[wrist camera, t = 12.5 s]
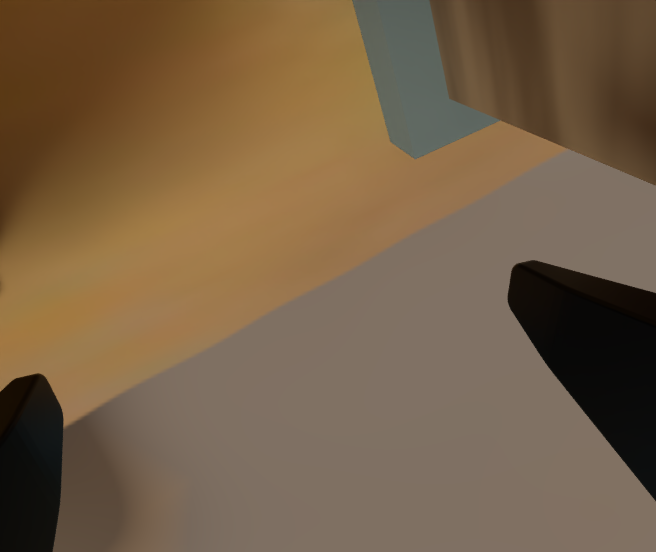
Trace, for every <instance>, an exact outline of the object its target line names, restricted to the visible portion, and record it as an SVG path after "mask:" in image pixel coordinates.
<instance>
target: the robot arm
mask: <svg viewBox="0 0 656 552" xmlns="http://www.w3.org/2000/svg"><path fill="white" fill-rule="evenodd" d="M508 304H509V307H510V309H511V311H512V312H513V313H514V315H515V317H516V318H517V320H518V321H519V323H520V324H521V326H522V328H523V329H524V331H525V332H526V334H527V335H528V337H529V339H530V340H531V342H532V343H533V345H534V346H535V348H536V349H537V351H538V353H539V354H540V356H541V357H542V358H543V360H544V361H545V363H546V364H547V366H548V367H549V368H550V370H551V371H552V372H553V374H554V375H555V376H556V377H557V379H558V380H559V381H560V382H561V383H562V385H563V386H564V387H565V389H566V390H567V391H568V392H569V394H570V395H571V396H572V397H573V399H574V400H575V401H576V402H577V404H578V405H579V406H580V407H581V409H582V410H583V411H584V412H585V414H586V415H587V416H588V417H589V419H590V420H591V421H592V422H593V424H594V425H595V426H596V427H597V429H598V430H599V431H600V432H601V433H602V435H603V436H604V437H605V438H606V440H607V441H608V442H609V443H610V445H611V446H612V447H613V448H614V450H615V451H616V452H617V453H618V455H619V456H620V457H621V458H622V460H623V461H624V462H625V463H626V464H627V466H628V467H629V468H630V470H631V471H632V472H633V473H634V475H635V476H636V477H637V478H638V480H639V481H640V482H641V483H642V485H643V486H644V487H645V488H646V490H647V491H648V492H649V493H650V495H651V496H652V497H653V498H654V500H655V501H656V293H653V292H650V291H646V290H642V289H639V288H635V287H631V286H628V285H624V284H620V283H616V282H613V281H609V280H605V279H602V278H598V277H594V276H591V275H587V274H583V273H580V272H576V271H572V270H568V269H565V268H561V267H558V266H554V265H550V264H547V263H543V262H539V261H535V260H531V261H526V262H522V263H518V264H516V265H515V266H514V267H513V268H512V271H511V278H510V285H509V291H508ZM62 444H63V412H62V409H61V406H60V404H59V402H58V400H57V398H56V396H55V394H54V392H53V390H52V388H51V386H50V384H49V382H48V381H47V379H46V377H45V376H44V375H42V374H39V373H38V374H33V375H28V376H24V377H20V378H16V379H14V380H13V381H11V382H10V383H9V384H8V385H7V386H6V387H5V388H4V389H3V390H2V391H1V392H0V552H53V546H54V540H55V534H56V527H57V521H58V515H59V507H60V497H61V476H62V447H63V445H62Z"/></svg>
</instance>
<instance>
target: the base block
mask: <svg viewBox="0 0 656 552" xmlns="http://www.w3.org/2000/svg"><path fill="white" fill-rule="evenodd" d="M352 1H353V4H354V8H355V12H356V16H357V19H358V23H359V27H360V30H361V34H362V38H363V41H364V45H365V49H366V53H367V56H368V60H369V64H370V67H371V71H372V75H373V78H374V82H375V86H376V90H377V93H378V97H379V101H380V104H381V108H382V112H383V115H384V119H385V123H386V127H387V130H388V134H389V138H390V141H391V142H392V143H393V144H394V145H396V146H397V147H399V148H400V149H401V150H403V151H404V152H406V153H407V154H409V155H410V156H411V157H413V158H414V159H417V158H419V157H421V156H423V155H426V154H428V153H430V152H432V151H434V150H437V149H439V148H441V147H443V146H445V145H448V144H450V143H452V142H454V141H456V140H459V139H461V138H463V137H465V136H467V135H469V134H472V133H474V132H476V131H478V130H480V129H483V128H485V127H487V126H489V125H491V124H494V123H496V122H498V121H500V120H499V119H496V118H494V117H492V116H489V115H487V114H485V113H482V112H480V111H477V110H475V109H473V108H470V107H468V106H465V105H463V104H461V103H458V102H456V101H454V100H451V99H449V95H448V90H447V85H446V80H445V75H444V70H443V66H442V61H441V56H440V51H439V46H438V41H437V36H436V31H435V26H434V21H433V16H432V11H431V6H430V1H429V0H352Z"/></svg>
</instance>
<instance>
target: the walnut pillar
mask: <svg viewBox="0 0 656 552" xmlns="http://www.w3.org/2000/svg"><path fill="white" fill-rule="evenodd" d="M429 1H430V6H431V11H432V16H433V21H434V26H435V31H436V36H437V41H438V46H439V51H440V56H441V61H442V66H443V70H444V75H445V80H446V85H447V90H448V95H449V99H451V100H454V101H456V102H458V103H461V104H463V105H465V106H468V107H470V108H473V109H475V110H477V111H480V112H482V113H485V114H487V115H489V116H492V117H494V118H496V119H499V120H501V121H504V122H506V123H508V124H511V125H513V126H515V127H518V128H520V129H523V130H525V131H527V132H530V133H532V134H534V135H537V136H539V137H542V138H544V139H546V140H549V141H551V142H553V143H556V144H558V145H561V146H563V147H565V148H568V149H570V150H572V151H575V152H577V153H580V154H582V155H584V156H587V157H589V158H592V159H594V160H596V161H599V162H601V163H603V164H606V165H608V166H610V167H613V168H615V169H618V170H620V171H622V172H625V173H627V174H629V175H632V176H634V177H637V178H639V179H641V180H644V181H646V182H648V183H651V184H653V185H656V0H429Z"/></svg>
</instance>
